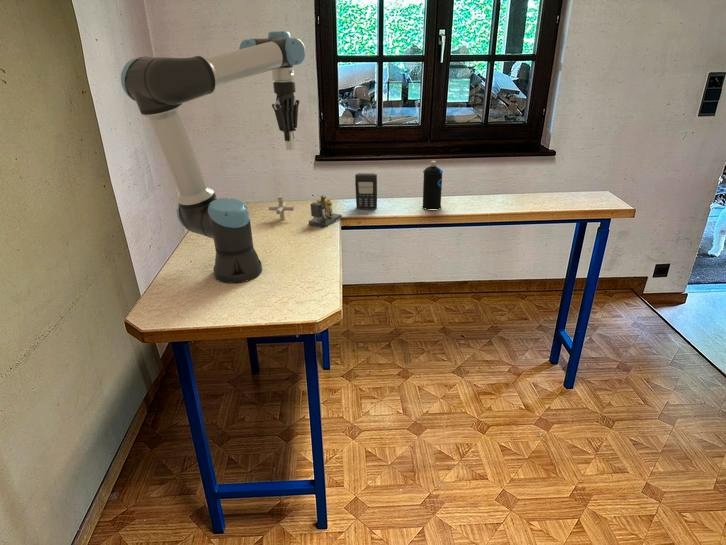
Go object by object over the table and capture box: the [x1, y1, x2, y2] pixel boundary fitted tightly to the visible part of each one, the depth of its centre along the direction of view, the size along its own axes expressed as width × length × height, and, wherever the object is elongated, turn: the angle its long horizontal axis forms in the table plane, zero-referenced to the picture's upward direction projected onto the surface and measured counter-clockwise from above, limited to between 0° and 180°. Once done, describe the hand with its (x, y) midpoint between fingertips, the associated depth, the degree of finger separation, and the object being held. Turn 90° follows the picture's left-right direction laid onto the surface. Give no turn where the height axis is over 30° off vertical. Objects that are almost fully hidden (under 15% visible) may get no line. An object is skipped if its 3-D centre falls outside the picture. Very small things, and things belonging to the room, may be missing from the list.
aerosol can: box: [421, 160, 444, 210], centre depth 201 cm, size 8×8×20 cm
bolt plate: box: [308, 202, 342, 228], centre depth 192 cm, size 12×8×8 cm, turn 150°
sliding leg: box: [316, 195, 333, 218], centre depth 192 cm, size 4×6×8 cm, turn 60°
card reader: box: [354, 173, 378, 210], centre depth 204 cm, size 9×4×15 cm, turn 83°
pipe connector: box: [268, 195, 295, 222], centre depth 194 cm, size 10×10×10 cm
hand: (290, 149), depth 176 cm, fingers closed
